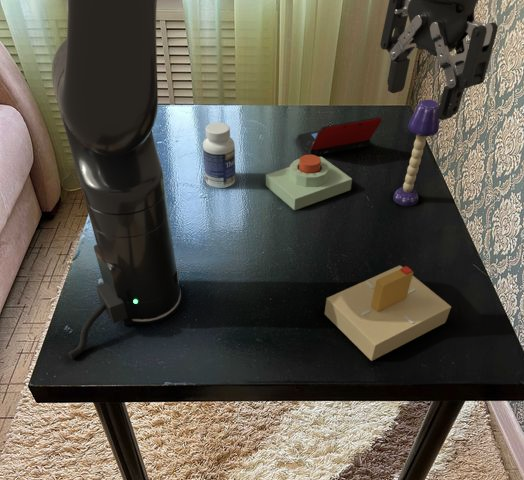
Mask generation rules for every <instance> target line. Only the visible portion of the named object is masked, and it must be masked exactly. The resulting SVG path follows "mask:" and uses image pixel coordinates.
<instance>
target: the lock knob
mask: <svg viewBox="0 0 524 480" xmlns="http://www.w3.org/2000/svg"><path fill="white" fill-rule="evenodd" d="M402 267H403V268H401V269H400V270H397V271H395V272H393V273H391V274H389V275H386V276H384V277H382V278H380V279H377V281H376V285H375V290H374V294H373V299H372V303H371V306H372V307H373V308H374V309H375V310H376V311H377V312H378V311H380V310H383V309H385V308H387V307H389V306H391V305H393V304H395V303H397V302H399V301H401V300H403V299H405V298H406V297H407V294H408V290H409V287H410V283H411V280H412V276H414V271H413V270H412V269H411V268H410V267H408V266H407V265H405V266H402Z"/></svg>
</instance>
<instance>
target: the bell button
mask: <svg viewBox="0 0 524 480" xmlns="http://www.w3.org/2000/svg"><path fill="white" fill-rule="evenodd" d="M319 157H320V156H319V155H318V156H315V155H309V154H304V155H302V156H301V157H299V159H300V161H299V170H300V171H301V172H304V173H307V174H314V173H317V172H319V171H320V165H321V159H320V158H319Z"/></svg>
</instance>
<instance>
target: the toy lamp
mask: <svg viewBox="0 0 524 480" xmlns="http://www.w3.org/2000/svg"><path fill="white" fill-rule="evenodd" d="M439 105H440V103H438V101H435V100H433V99H422V100H421V101H419V102H418V104H417V106H416V107H415V110H414V111H413V114H412V116H411V118H410V119H409V121H408V124H407V129H408V131H409V132H410V133H412V134H413V135H415V140H414V142H413V148H412V149H411V150H412V151H411V157H410V158H409V165H408V166H407V168H406V175H405V177H404V182H403V184H402V186H401V187H399V188H398V189H397V190H396V191H394V194H393V196H392V199H393V201H394V202H395V203H396V204H398V205H400V206H404V207H412V206H415V205H417V204H418V202H419V194H418V192H417V191H416V189H414V186H415V182H416V180H417V174H418V173H419V168H420V167H419V166H420V164H421V163H422V162H421V161H422V157H423V154H424V148H425V146H426V139H427V138H428V137H432V136H435V135H436V134H437V133H439V130H440V119H439V118H437V113H438V109H439Z"/></svg>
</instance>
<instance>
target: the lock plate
mask: <svg viewBox="0 0 524 480" xmlns="http://www.w3.org/2000/svg"><path fill="white" fill-rule="evenodd" d="M403 267H404V266H402V265H397V266H395V267H393V268H390V269H388V270H386V271H384V272H381V273H379V274H378V275H375V276H373V277H371V278H369V279H366V280H365V281H362V282H359V283H357V284H355V285H353V286H350V287H348V288H346V289H343V290H342V291H339V292H337V293H335V294H333V295H331V296H328V297H326V299H325V307H324V315H325V317H326V318H327V319H329V320H330V321H331V322H332V324H334V326H336V327H337V328H338V329H339V330H340V331H341V333H343V334H344V335H345V336H346V337H347V338H348V339H349V341H351V343H353V344H354V345H355V346H356V347H357V348H358V349H359V350H360V351H361V352H362V353H363V354H364V356H366V357H367V359H369V360H370V361H371V362H373V361H374V360H376V359H379V358H381V357H383V356H384V355H386V354H388V353H390V352H393V350H395V349H397V348H400V347H401V346H403V345H406V344H407V343H409V342H411V341H413V340H415V339H417V338H419V337H420V336H423V335H425V334H427V333H428V332H430V331H432V330H434V329H436V328H438V327H440V326H442V325H445V324H446V322H447V320H448V317H449V314H450V312H451V309H452V306H451V305H450V304H449V303H447V302H446V300H444V299H443V298H441V297H440V296H439V295H437V294H436V292H434V291H433V290H431V289H430V287H428V286H427V285H425V283H423V282H421V281H420V280H419V279H418V278H417V277H416V276H414V275H413V276H412V280H411V283H410V287H409V290H408V294H407V297H406V298H405V299H403V300H401V301H399V302H397V303H395V304H393V305H391V306H389V307H387V308H385V309H383V310H380V311H378V312H377V311H376V310H375V309H374V308H373V307H372V306H371V303H372V299H373V294H374V290H375V285H376V281H377V279H380V278H382V277H384V276H386V275H389V274H391V273H393V272H395V271H397V270H400V269H401V268H403Z"/></svg>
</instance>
